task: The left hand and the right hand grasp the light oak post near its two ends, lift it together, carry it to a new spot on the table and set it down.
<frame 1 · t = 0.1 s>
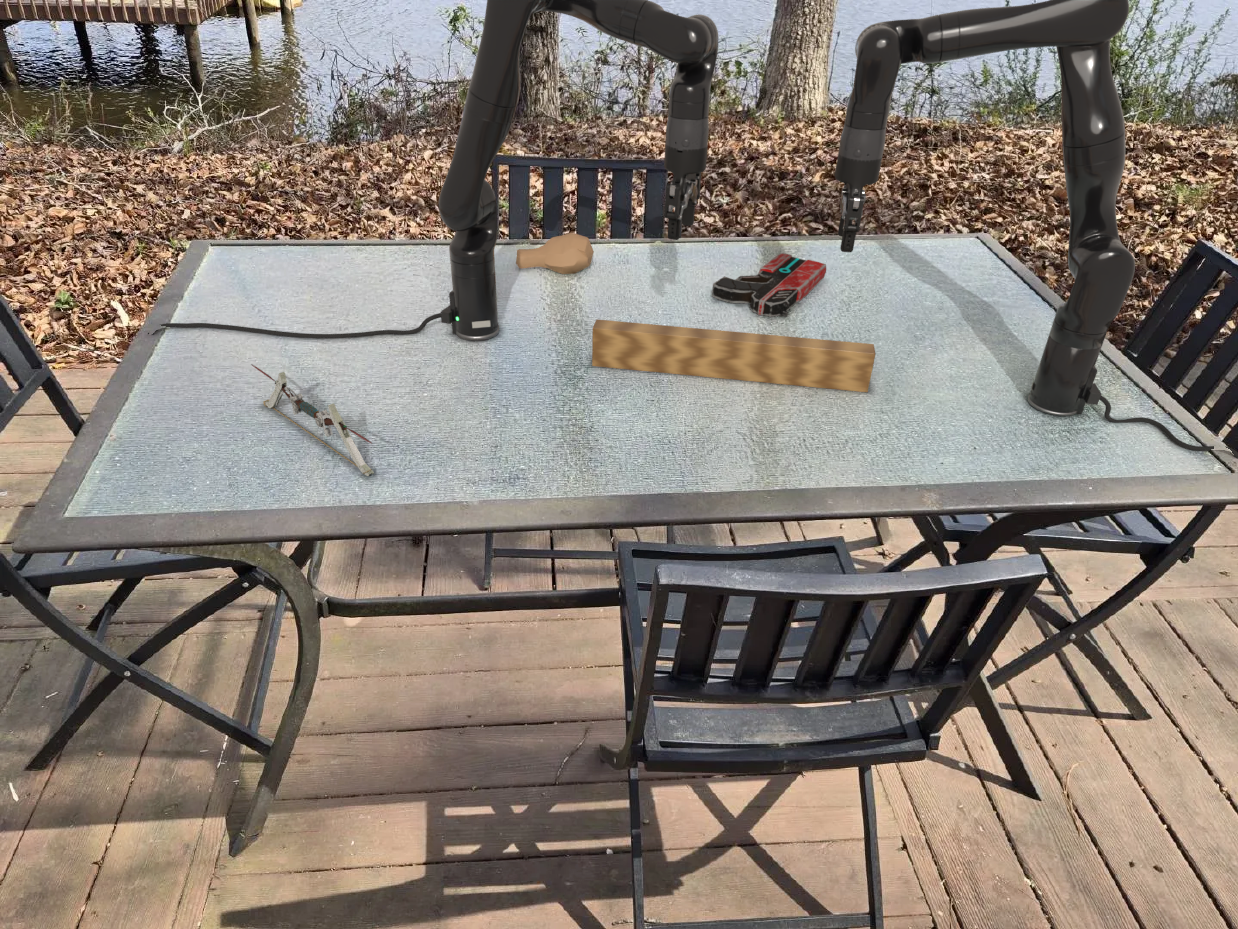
left hand: (680, 231, 164), 29 cm above the table, tool pointing down, fingers open, 8 cm apart
right hand: (844, 243, 161), 29 cm above the table, tool pointing down, fingers open, 8 cm apart
gun: (770, 291, 216), on the table
post: (727, 374, 179), on the table
bow: (315, 438, 155), on the table
squash: (554, 269, 225), on the table
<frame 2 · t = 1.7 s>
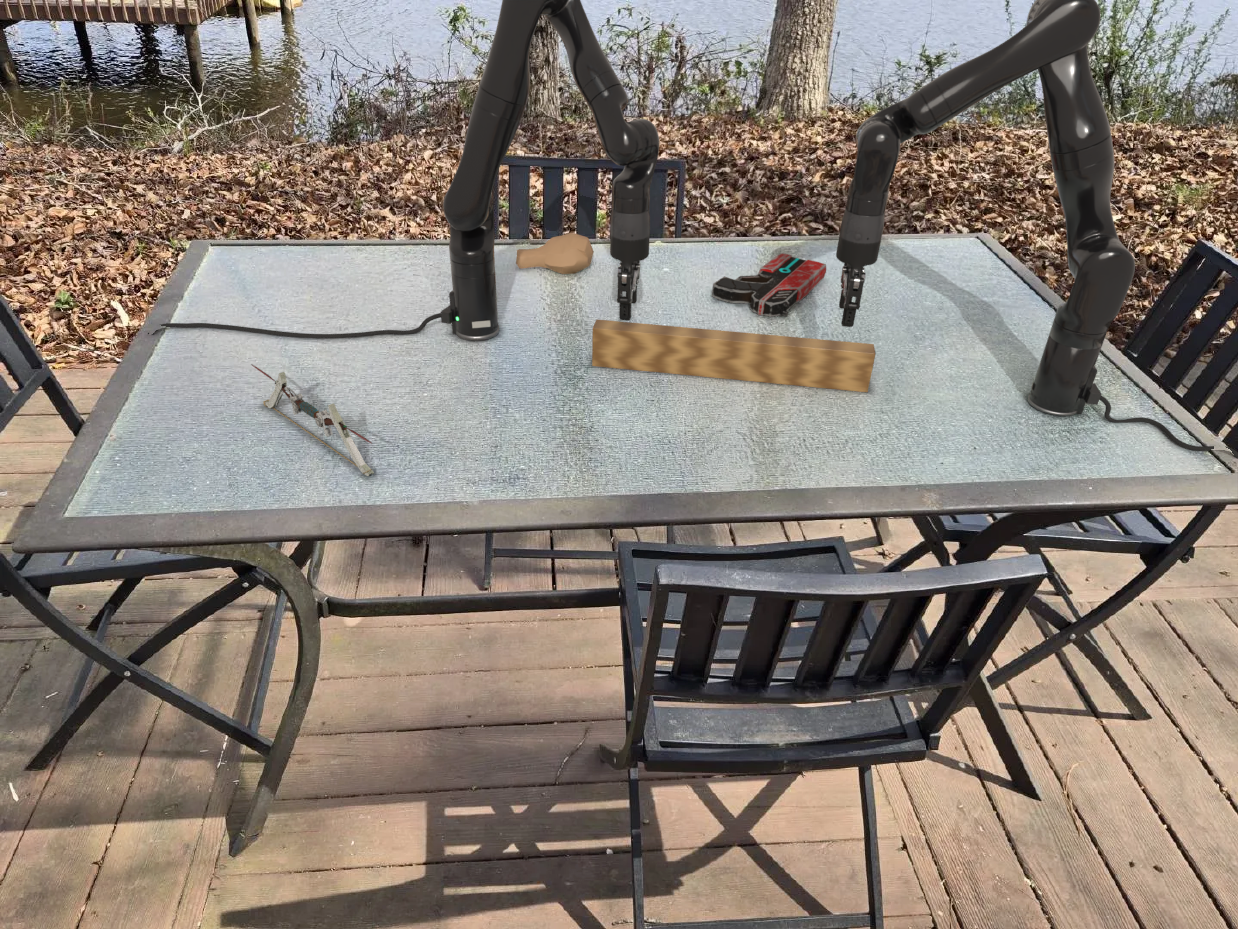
left hand: (628, 310, 175), 12 cm above the table, tool pointing down, fingers open, 8 cm apart
right hand: (845, 316, 169), 15 cm above the table, tool pointing down, fingers open, 8 cm apart
nothing on the table moved.
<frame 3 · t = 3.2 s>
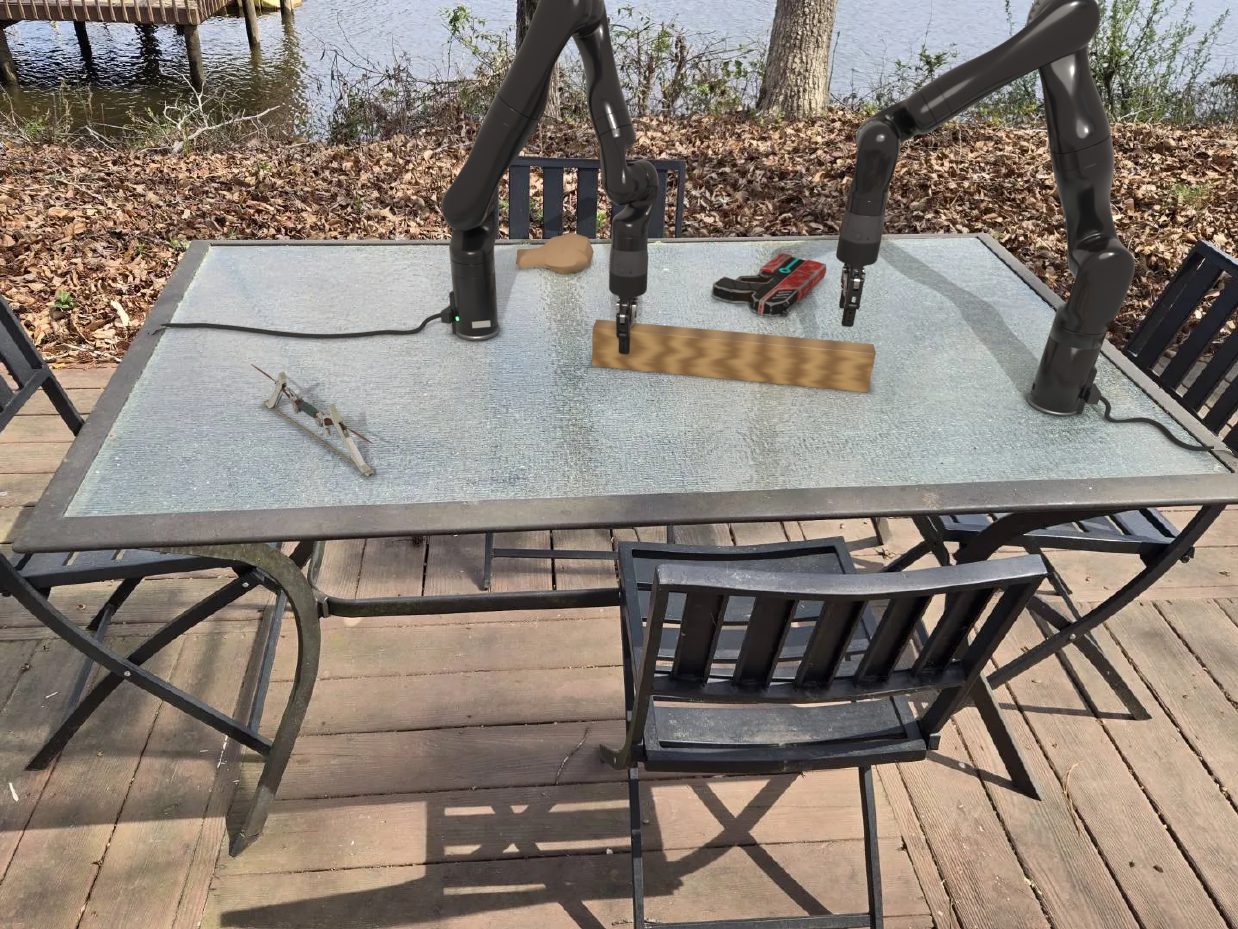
left hand: (626, 347, 180), 4 cm above the table, tool pointing down, fingers closed on post, 4 cm apart
right hand: (845, 316, 169), 15 cm above the table, tool pointing down, fingers open, 8 cm apart
post: (727, 374, 179), on the table, touching left hand
everything else where it was.
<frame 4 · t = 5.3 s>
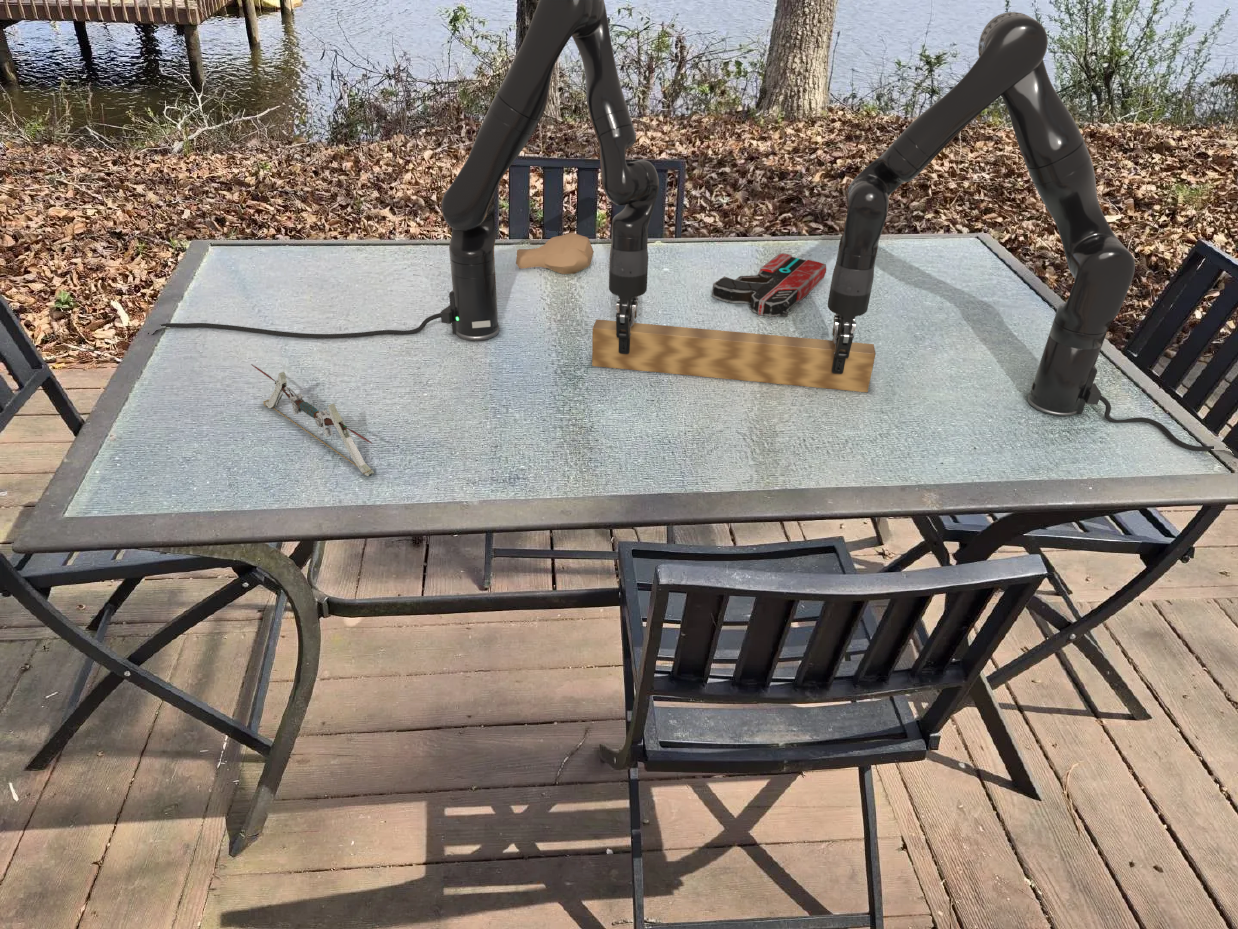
left hand: (625, 347, 180), 4 cm above the table, tool pointing down, fingers closed on post, 4 cm apart
right hand: (836, 366, 175), 4 cm above the table, tool pointing down, fingers closed on post, 4 cm apart
post: (727, 374, 179), on the table, touching left hand, right hand
everything else where it was.
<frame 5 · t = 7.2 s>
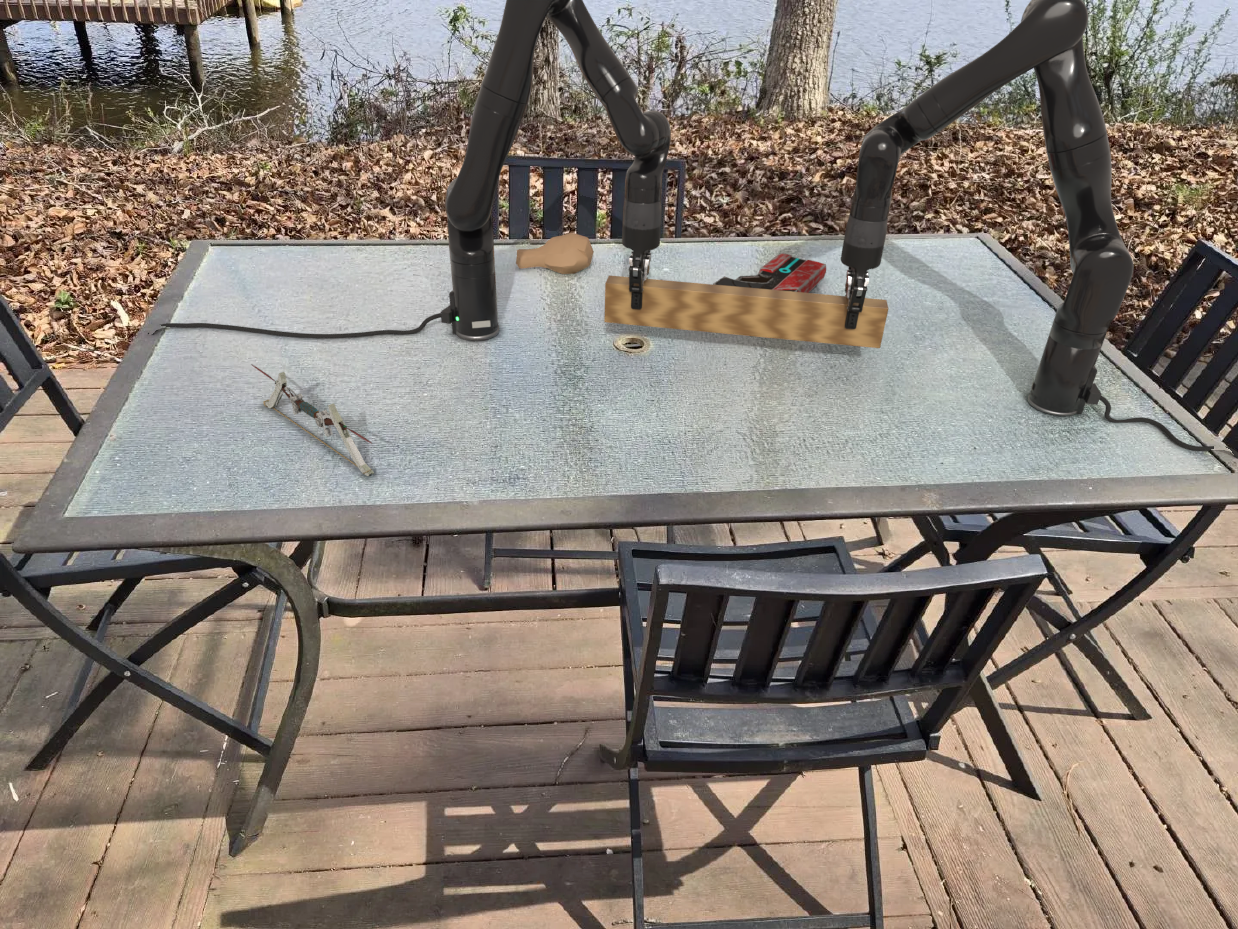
left hand: (638, 303, 180), 11 cm above the table, tool pointing down, fingers closed on post, 4 cm apart
right hand: (849, 322, 175), 11 cm above the table, tool pointing down, fingers closed on post, 4 cm apart
post: (740, 330, 179), point 7 cm above the table, touching left hand, right hand
everything else where it was.
when the left hand's fingers open (5 cm above the table, at t = 9.4 s): post drops 2 cm, on the table.
when the right hand's fingers open (5 cm above the table, at t = 9.4 s): post drops 2 cm, on the table.
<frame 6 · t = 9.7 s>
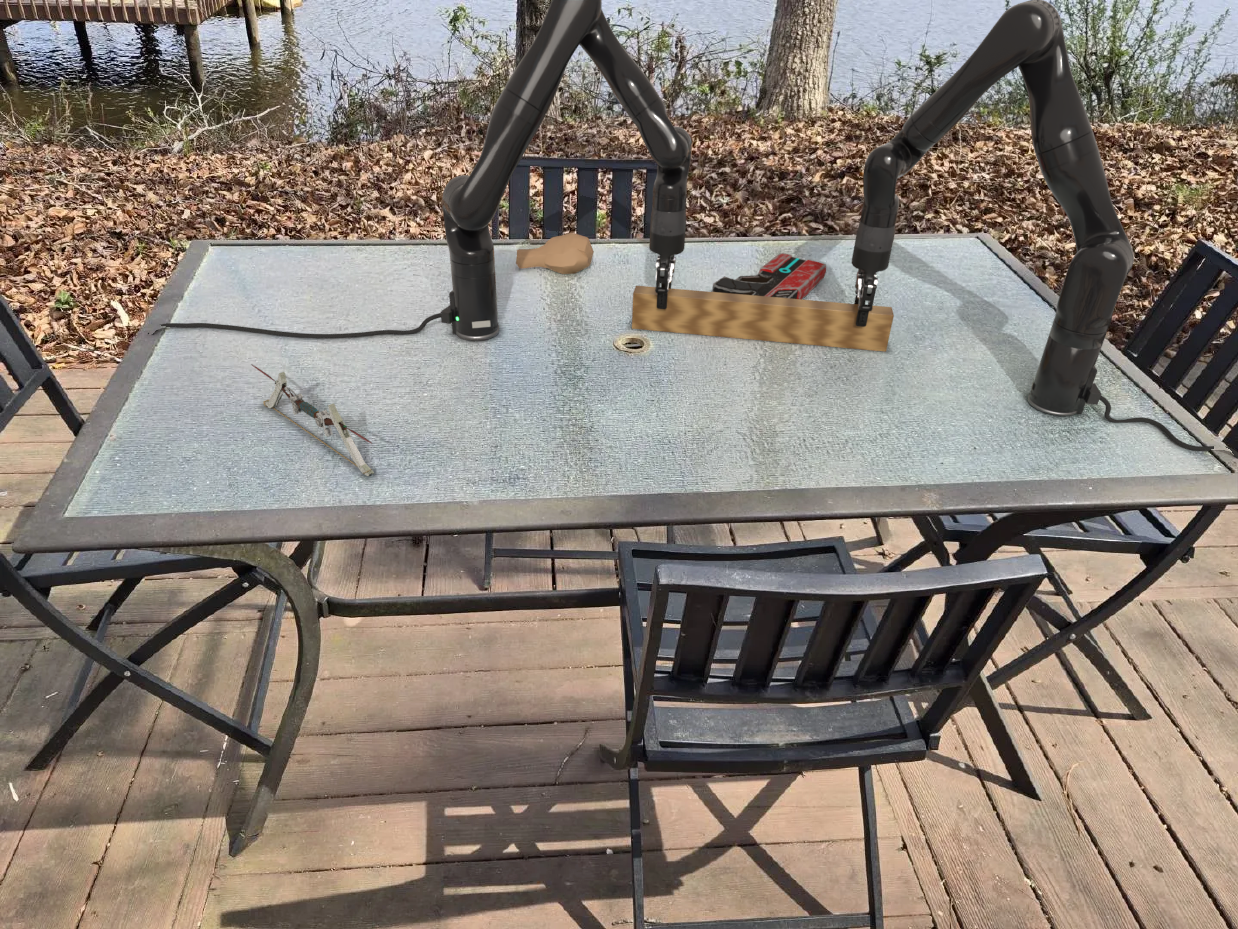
left hand: (663, 301, 194), 6 cm above the table, tool pointing down, fingers open, 7 cm apart
right hand: (859, 318, 189), 6 cm above the table, tool pointing down, fingers open, 7 cm apart
post: (757, 335, 195), on the table
everything else where it was.
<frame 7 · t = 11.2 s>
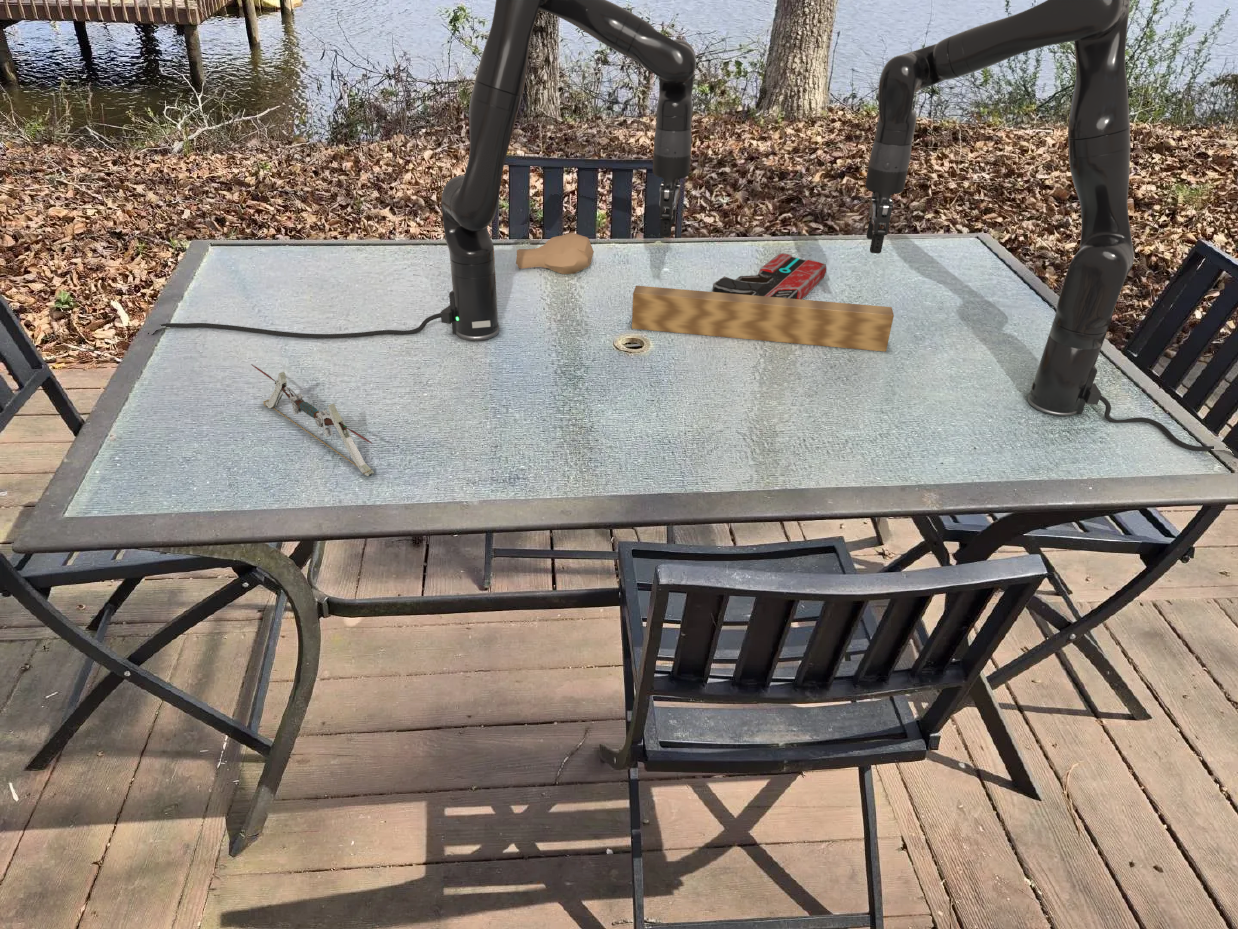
left hand: (667, 229, 185), 22 cm above the table, tool pointing down, fingers open, 8 cm apart
right hand: (873, 245, 180), 22 cm above the table, tool pointing down, fingers open, 8 cm apart
nothing on the table moved.
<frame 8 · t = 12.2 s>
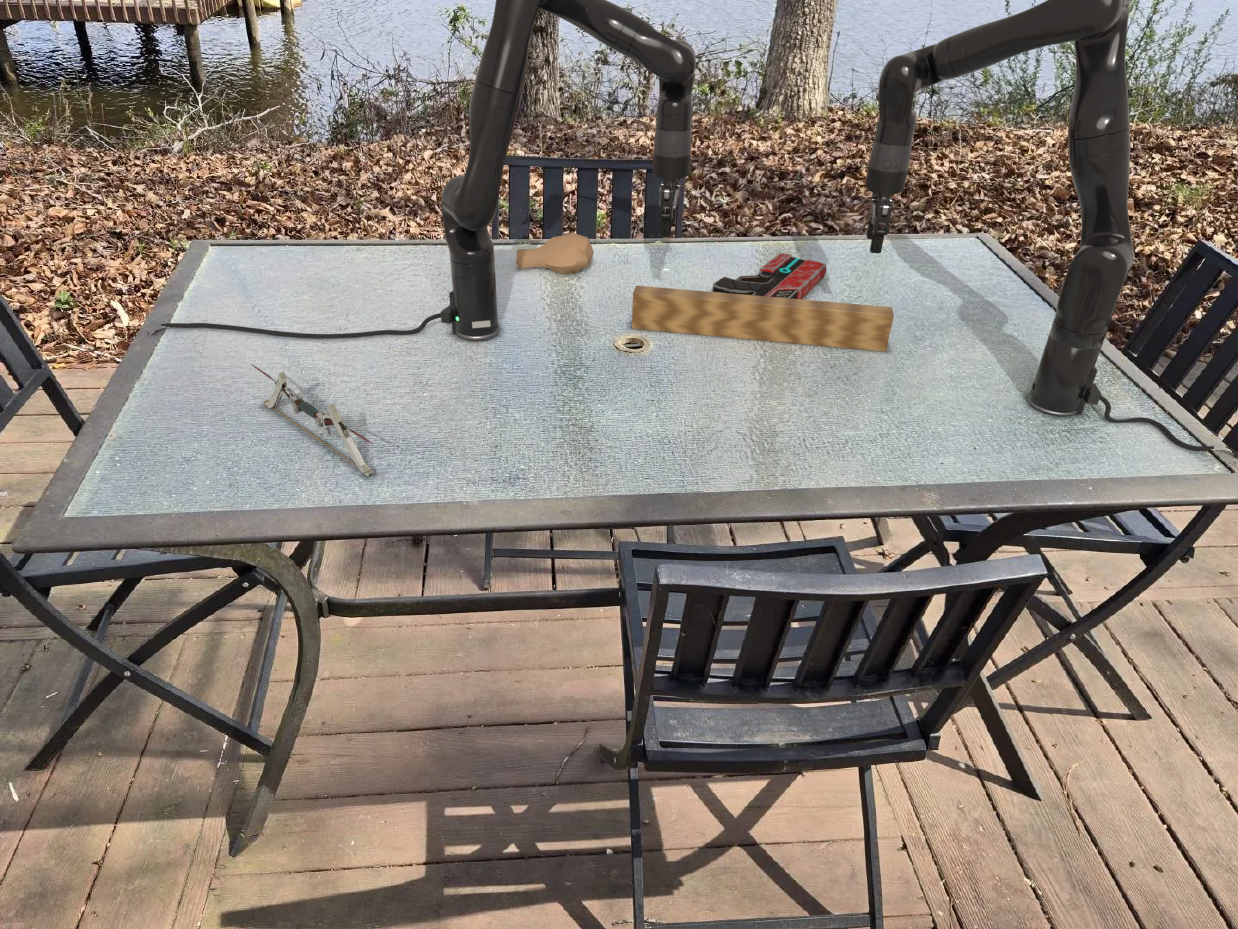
left hand: (667, 229, 185), 22 cm above the table, tool pointing down, fingers open, 8 cm apart
right hand: (873, 245, 180), 22 cm above the table, tool pointing down, fingers open, 8 cm apart
nothing on the table moved.
at the end: post inside the target area (0.1 cm from its centre), on the table; post tilted 0°; post never tilted more than 1° during the clip; both hands held the post at the same time; the left hand is holding nothing; the right hand is holding nothing; post at rest at the end (0.0 cm/s) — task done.
